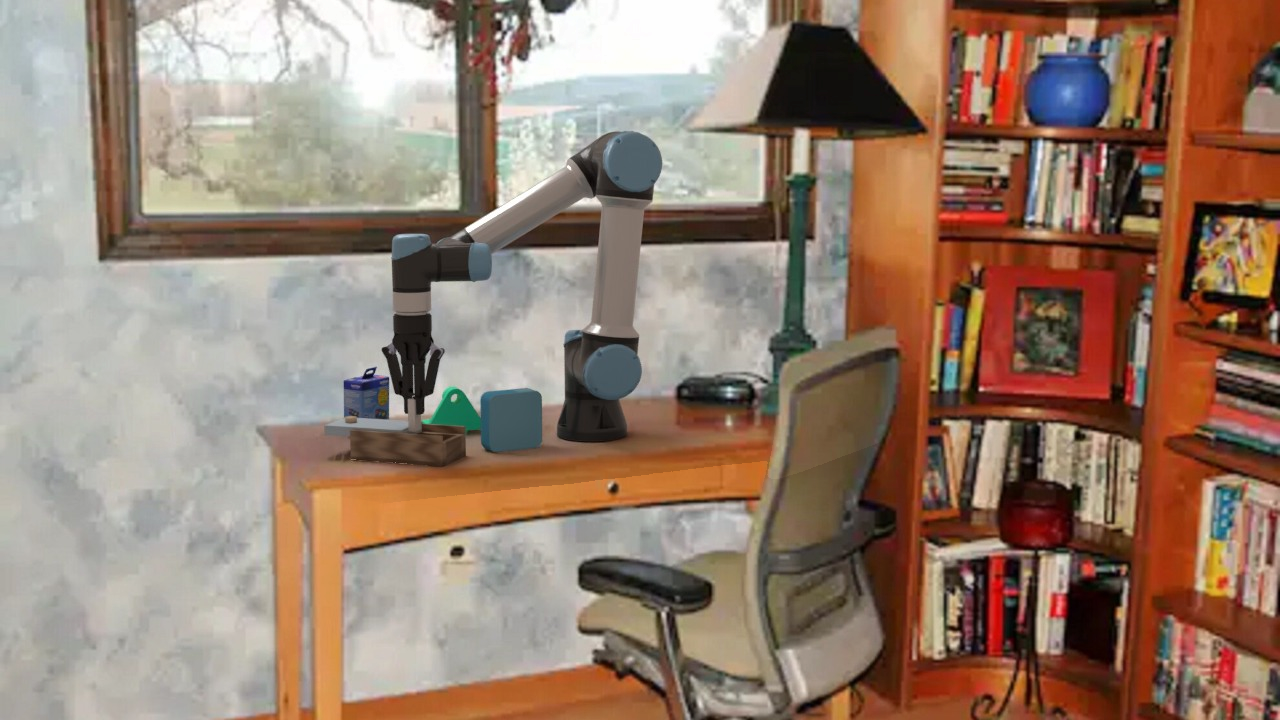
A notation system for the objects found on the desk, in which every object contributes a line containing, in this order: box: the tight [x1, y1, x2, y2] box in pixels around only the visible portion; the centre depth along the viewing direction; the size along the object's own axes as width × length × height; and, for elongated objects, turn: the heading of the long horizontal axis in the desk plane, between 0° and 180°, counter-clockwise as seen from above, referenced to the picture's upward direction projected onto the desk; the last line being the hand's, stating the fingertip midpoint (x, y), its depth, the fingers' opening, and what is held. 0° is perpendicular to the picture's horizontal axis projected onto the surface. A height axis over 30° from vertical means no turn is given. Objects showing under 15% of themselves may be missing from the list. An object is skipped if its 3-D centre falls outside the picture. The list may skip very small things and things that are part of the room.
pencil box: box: [349, 423, 467, 468], centre depth 307 cm, size 20×11×6 cm, turn 72°
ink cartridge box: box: [343, 366, 390, 420], centre depth 331 cm, size 10×6×14 cm, turn 152°
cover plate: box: [323, 416, 422, 438], centre depth 309 cm, size 17×9×3 cm, turn 72°
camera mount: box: [421, 386, 481, 435], centre depth 333 cm, size 12×8×10 cm, turn 112°
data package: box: [479, 387, 543, 454], centre depth 316 cm, size 12×4×12 cm, turn 121°
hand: (414, 430), depth 306 cm, fingers closed
